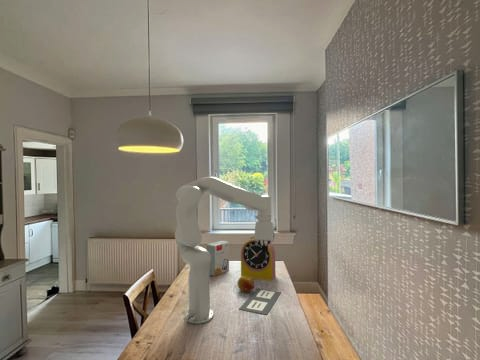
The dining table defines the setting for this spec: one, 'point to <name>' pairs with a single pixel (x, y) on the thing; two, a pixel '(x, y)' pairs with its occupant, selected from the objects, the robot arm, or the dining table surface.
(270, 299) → the label mat
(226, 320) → the dining table surface
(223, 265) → the hard drive box
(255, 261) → the alarm clock
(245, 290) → the fruit
